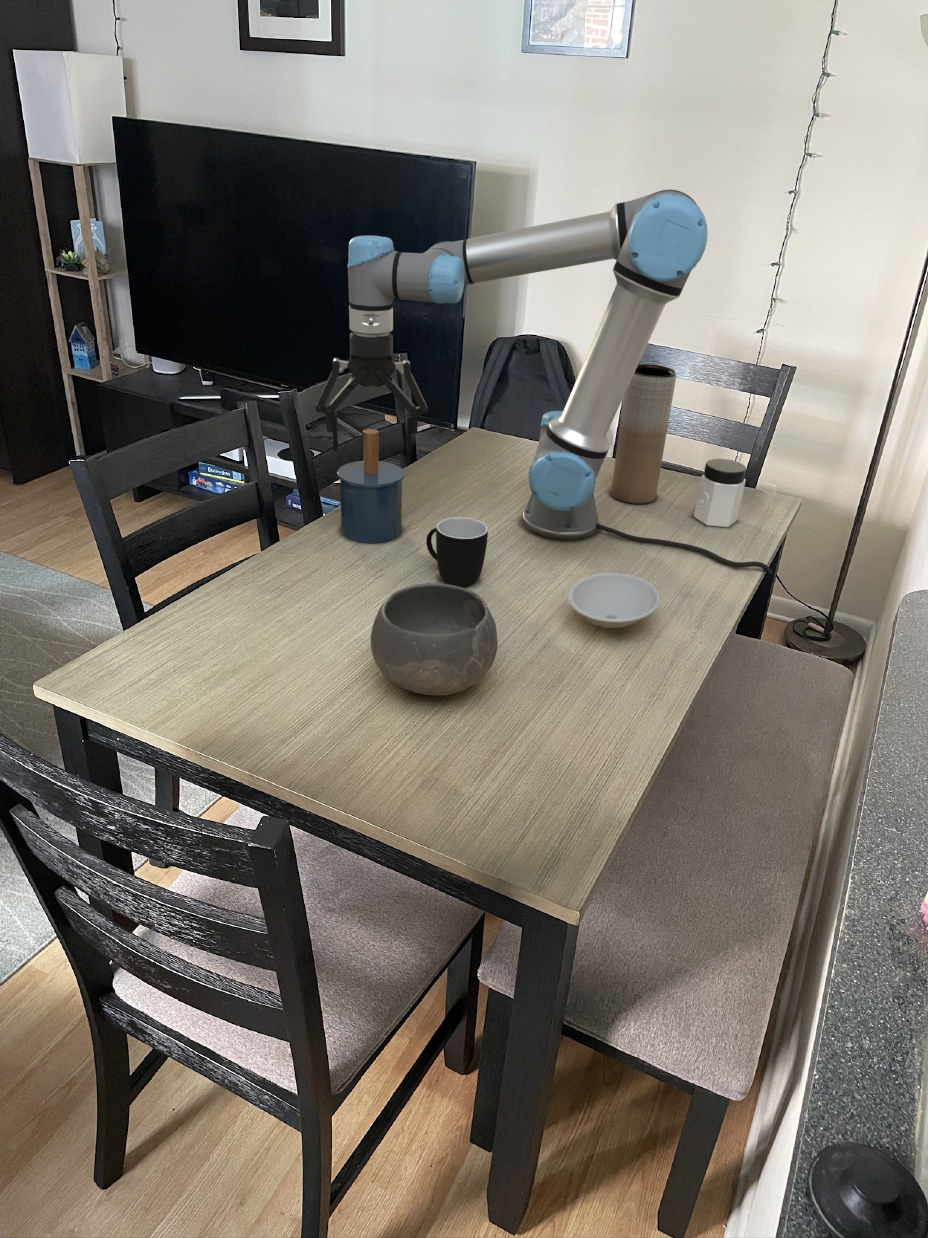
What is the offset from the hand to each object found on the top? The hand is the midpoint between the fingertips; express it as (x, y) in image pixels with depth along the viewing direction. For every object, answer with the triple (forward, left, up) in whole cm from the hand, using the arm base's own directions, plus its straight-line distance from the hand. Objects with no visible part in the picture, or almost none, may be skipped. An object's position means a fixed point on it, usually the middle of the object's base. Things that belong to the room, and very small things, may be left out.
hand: (372, 449), depth 166 cm
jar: (-45, -57, -17) cm, 74 cm away
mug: (-24, +3, -17) cm, 29 cm away
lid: (0, 0, -5) cm, 5 cm away
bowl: (-44, +30, -17) cm, 56 cm away
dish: (-53, -4, -17) cm, 56 cm away
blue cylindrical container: (0, 0, -17) cm, 17 cm away
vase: (-26, -55, -17) cm, 63 cm away
